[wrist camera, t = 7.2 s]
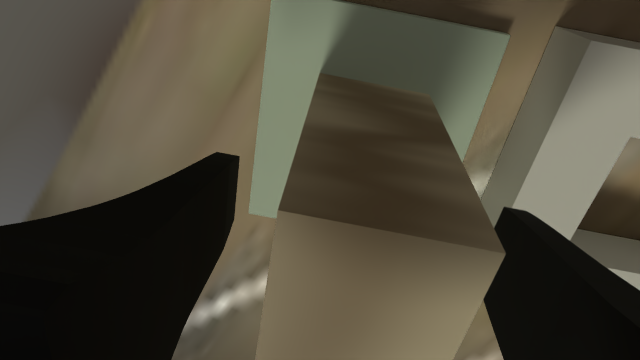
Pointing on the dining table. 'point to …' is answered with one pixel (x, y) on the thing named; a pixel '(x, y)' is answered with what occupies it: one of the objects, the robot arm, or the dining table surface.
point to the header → (572, 141)
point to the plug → (375, 234)
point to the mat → (363, 74)
